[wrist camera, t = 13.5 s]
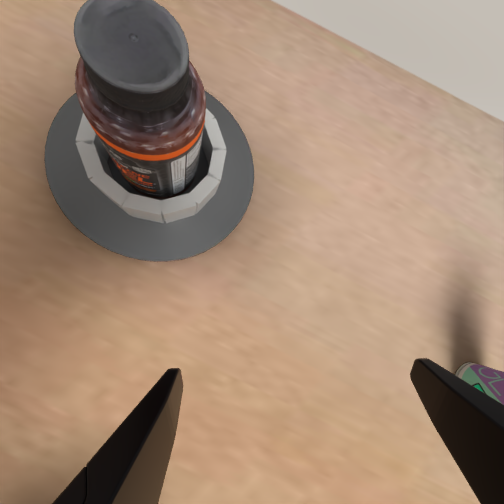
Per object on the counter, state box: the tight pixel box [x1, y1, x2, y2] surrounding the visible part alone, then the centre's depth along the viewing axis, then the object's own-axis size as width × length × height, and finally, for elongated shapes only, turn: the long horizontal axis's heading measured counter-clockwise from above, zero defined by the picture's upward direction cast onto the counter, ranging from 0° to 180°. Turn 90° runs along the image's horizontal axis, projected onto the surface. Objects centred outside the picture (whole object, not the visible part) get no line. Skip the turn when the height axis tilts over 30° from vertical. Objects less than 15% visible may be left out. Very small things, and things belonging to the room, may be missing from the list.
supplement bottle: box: [74, 0, 206, 199], centre depth 14 cm, size 6×6×11 cm
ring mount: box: [45, 90, 254, 262], centre depth 19 cm, size 16×16×4 cm
